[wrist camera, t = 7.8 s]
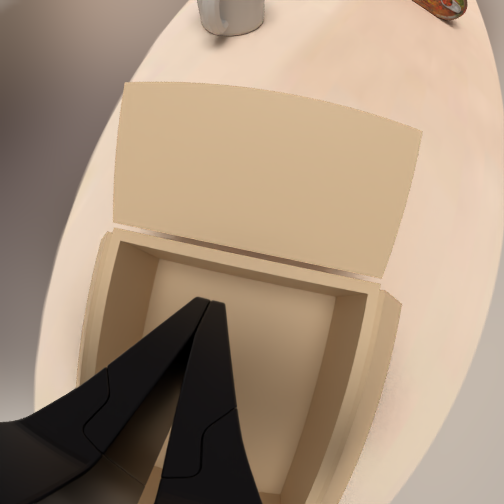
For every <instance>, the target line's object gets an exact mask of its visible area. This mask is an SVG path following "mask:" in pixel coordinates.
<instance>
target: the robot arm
mask: <svg viewBox="0 0 504 504" xmlns="http://www.w3.org/2000/svg"><path fill="white" fill-rule="evenodd" d="M171 426H172V428H171ZM170 428H171V432H170V436H169V441H168V445H167V450H166V454H165V459H164V464H163V468H162V473H161V479H160V483H159V487H158V491H157V495H156V498H155V502H154V504H263V503H262V500H261V497H260V494H259V492H258V489H257V486H256V483H255V480H254V477H253V474H252V471H251V468H250V464H249V461H248V458H247V454H246V451H245V447H244V443H243V439H242V433H241V428H240V422H239V414H238V409H237V400H236V392H235V384H234V376H233V368H232V359H231V350H230V341H229V332H228V323H227V313H226V305H225V303H223V302H219V301H215V300H212V301H210V300H209V299H207V298H202V297H195V298H193V299H192V300H191V301H190V302H188V303H187V304H186V305H184V306H183V307H182V308H181V309H179V310H178V311H177V312H175V313H174V314H173V315H172V316H170V317H169V318H168V319H166V320H165V321H164V322H163V323H161V324H160V325H159V326H157V327H156V328H155V329H154V330H152V331H151V332H150V333H148V334H147V335H146V336H145V337H143V338H142V339H141V340H139V341H138V342H137V343H136V344H134V345H133V346H132V347H130V348H129V349H128V350H127V351H125V352H124V353H123V354H121V355H120V356H119V357H118V358H116V359H115V360H114V361H112V362H111V363H110V364H108V365H107V367H104V368H103V369H102V370H101V371H99V372H98V373H97V374H95V375H94V376H93V377H91V378H90V379H89V380H87V381H86V382H84V383H83V384H82V385H80V386H79V387H77V388H75V389H74V390H72V391H71V392H69V393H68V394H66V395H64V396H63V397H61V398H59V399H57V400H56V401H54V402H52V403H51V404H49V405H47V406H46V407H44V408H42V409H40V410H39V411H37V412H35V413H33V414H32V415H30V416H28V417H26V418H23V419H20V420H15V421H10V422H0V504H138V502H139V500H140V497H141V495H142V493H143V490H144V488H145V485H146V483H147V481H148V479H149V476H150V474H151V472H152V470H153V467H154V465H155V463H156V460H157V458H158V456H159V453H160V451H161V449H162V447H163V444H164V442H165V440H166V437H167V435H168V433H169V431H170Z"/></svg>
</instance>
